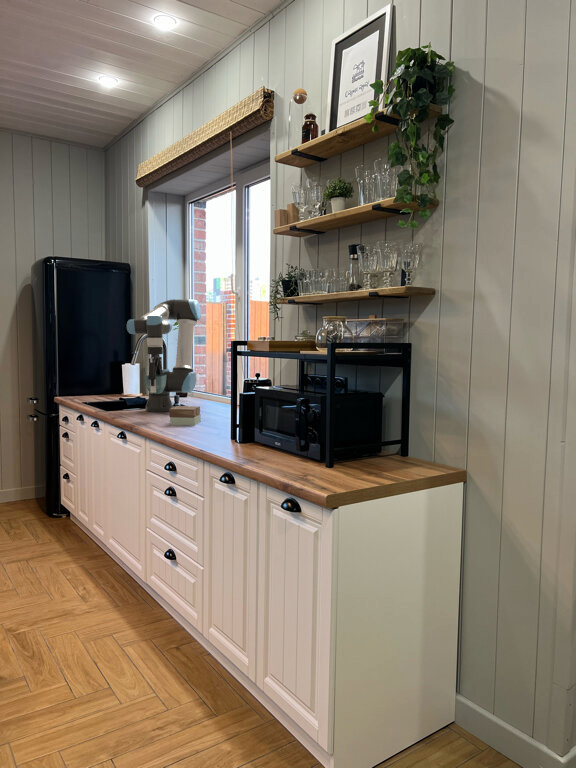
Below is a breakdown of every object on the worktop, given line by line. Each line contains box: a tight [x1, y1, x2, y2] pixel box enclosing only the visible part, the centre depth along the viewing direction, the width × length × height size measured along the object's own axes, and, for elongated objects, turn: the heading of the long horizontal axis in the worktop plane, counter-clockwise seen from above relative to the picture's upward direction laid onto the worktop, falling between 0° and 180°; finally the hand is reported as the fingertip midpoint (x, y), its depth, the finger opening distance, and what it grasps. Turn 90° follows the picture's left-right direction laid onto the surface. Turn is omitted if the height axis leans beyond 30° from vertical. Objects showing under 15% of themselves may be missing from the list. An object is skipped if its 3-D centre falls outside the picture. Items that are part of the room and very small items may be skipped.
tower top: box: [168, 405, 201, 418], centre depth 285 cm, size 12×12×4 cm
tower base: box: [169, 413, 202, 426], centre depth 286 cm, size 12×12×4 cm
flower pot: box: [144, 374, 167, 394], centre depth 294 cm, size 9×9×9 cm
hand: (156, 391), depth 294 cm, fingers closed on flower pot, 8 cm apart
